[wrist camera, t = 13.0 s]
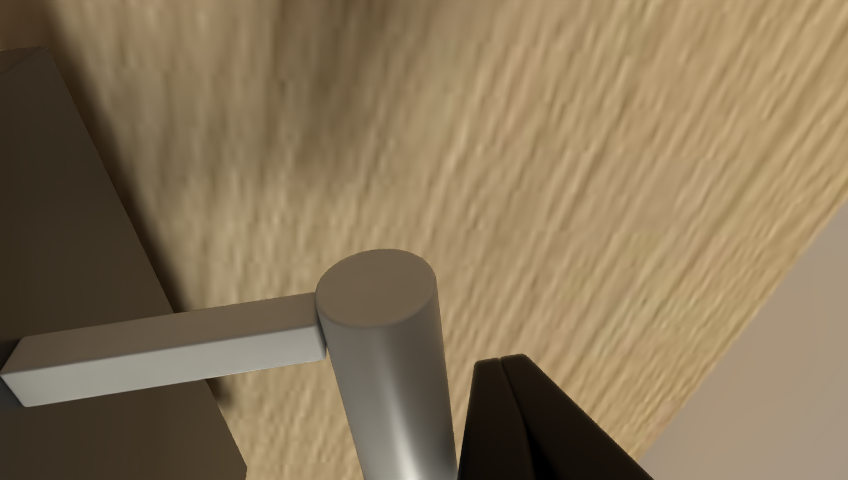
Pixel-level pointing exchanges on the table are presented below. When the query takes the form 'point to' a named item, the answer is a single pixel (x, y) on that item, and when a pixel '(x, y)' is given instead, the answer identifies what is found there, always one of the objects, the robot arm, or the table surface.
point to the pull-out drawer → (178, 327)
